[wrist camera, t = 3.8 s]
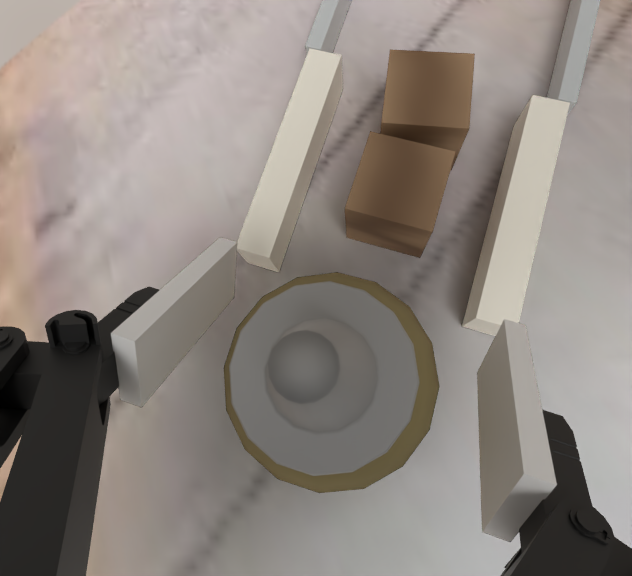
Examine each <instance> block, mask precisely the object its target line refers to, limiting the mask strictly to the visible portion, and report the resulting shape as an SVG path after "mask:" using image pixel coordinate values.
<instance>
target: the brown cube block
mask: <svg viewBox="0 0 632 576" xmlns="http://www.w3.org/2000/svg"><path fill="white" fill-rule="evenodd" d="M474 55H475V54H468V53H448V52H427V51H407V50H390V54H389V63H388V71H387V79H386V88H385V96H384V104H383V113H382V121H381V132H380V134H384V135H388V136H392V137H396V138H401V139H405V140H409V141H413V142H417V143H422V144H426V145H430V146H434V147H438V148H443V149H447V150H451V151H455V155H454V159H453V162H452V166H451V169H450V170H452V167H453V165H454V163H455V160H456V158H457V156H458V153H459V151H460V149H461V147H462V144H463V142H464V140H465V137H466V135H467V133H468V130H469V125H470V111H471V97H472V83H473V69H474Z"/></svg>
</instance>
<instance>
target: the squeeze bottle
mask: <svg viewBox="0 0 632 576" xmlns="http://www.w3.org/2000/svg"><path fill="white" fill-rule="evenodd" d="M224 379H225V397H226V410H227V413H228V415H229V417H230V419H231V421H232V423H233V425H234V427H235V430H236V432H237V434H238V436H239V438H240V440H241V442H242V444H243V447H244V449H245V450H246V451H247V452H248V453H249V454H251V455H252V456H253V457H254V458H255V459H256V460H257V461H258V462H259V463H260V464H262V465H263V466H264V467H265V468H266V469H267V470H268V471H269V472H270V473H272V474H273V475H274V476H275V477H276V478H277V479H279V480H282V481H285V482H288V483H291V484H294V485H297V486H300V487H303V488H306V489H309V490H312V491H315V492H318V493H325V492H335V491H345V490H356V489H364V488H366V487H368V486H369V485H371V484H373V483H375V482H376V481H378V480H380V479H382V478H383V477H385V476H387V475H389V474H390V473H392V472H394V471H396V470H397V469H399V468H401V467H403V465H404V464H405V463H406V461H407V460H408V459H409V457H410V456H411V455H412V453H413V452H414V450H415V449H416V448H417V446H418V445H419V444H420V442H421V441H422V439H423V438H424V437H425V435H426V434H427V433H428V431H429V430H430V425H431V421H432V417H433V412H434V408H435V403H436V399H437V395H438V390H439V381H438V375H437V370H436V364H435V358H434V352H433V346H432V342H431V341H430V339H429V338H428V336H427V334H426V333H425V331H424V329H423V328H422V326H421V325H420V323H419V321H418V320H417V318H416V317H415V315H414V313H413V312H412V310H411V309H410V307H409V306H408V305H406V304H405V303H403V302H402V301H401V300H399V299H398V298H397V297H395V296H394V295H393V294H391V293H390V292H389V291H387V290H386V289H384V288H383V287H382V286H380V285H379V284H378V283H376V282H373V281H369V280H365V279H361V278H357V277H353V276H349V275H345V274H342V273H338V272H336V273H328V274H320V275H313V276H305V277H297V278H296V279H294V280H292V281H290V282H288V283H287V284H285V285H283V286H281V287H279V288H278V289H276V290H274V291H272V292H270V293H269V294H267V295H265V296H263V297H262V298H261V299H260V301H259V302H258V303H257V304H256V305H255V307H254V308H253V309H252V310H251V311H250V313H249V314H248V315H247V316H246V317H245V319H244V320H243V321H242V322H241V324H240V325H239V326H238V327H237V329H236V332H235V335H234V338H233V341H232V344H231V347H230V350H229V353H228V356H227V359H226V362H225V365H224Z"/></svg>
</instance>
